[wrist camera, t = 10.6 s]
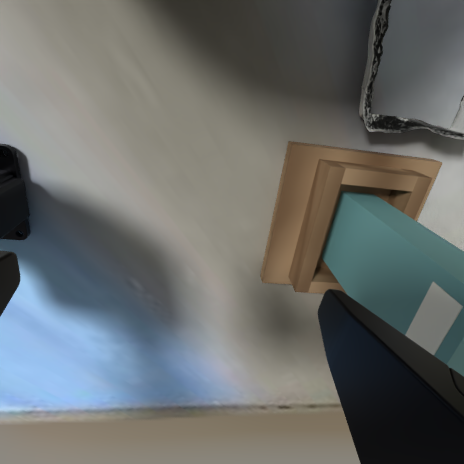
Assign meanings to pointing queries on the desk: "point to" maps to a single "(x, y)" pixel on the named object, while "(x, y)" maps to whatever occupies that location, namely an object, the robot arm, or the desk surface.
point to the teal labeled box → (400, 273)
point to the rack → (333, 205)
